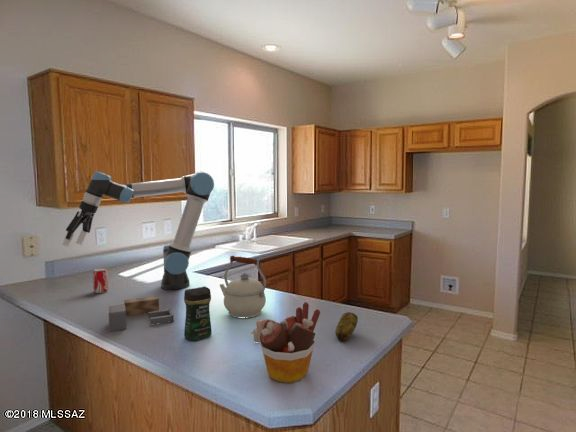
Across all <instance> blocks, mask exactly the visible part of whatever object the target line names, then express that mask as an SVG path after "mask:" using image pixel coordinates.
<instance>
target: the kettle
mask: <svg viewBox="0 0 576 432" xmlns="http://www.w3.org/2000/svg"><path fill="white" fill-rule="evenodd" d="M229 257H230V258H229V263H230V264H229V266H228V267H227V269H226V270H225V271H224V274H223V277H224V282H225V284H224V283H220V284H219V288H220V290H221V292H222V295H223V296H224V298H223V305H224V307H225V309H226V311H228V315H229V314H230V315H232V316H235V317H245V318H244V319H247V318H246V317H252V318H255V317H254V316H256V317H258V316H259V315H261V314H262V310H263V309H264V307H265V306H266V302H267V301H266V299H267V298H266V295H265V290H266V287H267V279H266V277H265V274H264V273H263V271H262V270H261V268H260V259H259V258H251V257H245V256H235V255H230V256H229ZM234 262H236V263H240V264H247V265H255V266H256V269H257V272H258V273H259V274H260V275H261V278H262V280H263V284H262V282H260V281H259V280H257V279H255V278H251V277H250V275H249V274H248V273H246V272H244V273H242V274H241V275H240V276H239V278H235V279H233V280H231V281H230V282H228V276H227V275H228V272H229V270H230V269H231V267H233V263H234ZM225 285H226V286H225ZM230 315H229V316H230ZM257 315H258V316H257ZM232 316H231V317H232ZM235 317H234V318H235Z"/></svg>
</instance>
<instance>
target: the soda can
mask: <svg viewBox="0 0 576 432" xmlns="http://www.w3.org/2000/svg"><path fill="white" fill-rule="evenodd" d="M92 285H93V287H92V288H93V292H94V293H96V294H104V293H107V292H108V290H109V272H108V271H107V268H104V267H99V268H95V269H94V270H93V272H92Z"/></svg>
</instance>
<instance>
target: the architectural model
mask: <svg viewBox="0 0 576 432" xmlns="http://www.w3.org/2000/svg"><path fill="white" fill-rule="evenodd" d="M250 333H251V334H252V335H253V342H254V341H255V342H260V334H259V331H258V329H257V327H256V328H255V329H253V331H251V332H250Z"/></svg>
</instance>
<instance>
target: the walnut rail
mask: <svg viewBox="0 0 576 432" xmlns="http://www.w3.org/2000/svg"><path fill="white" fill-rule="evenodd" d="M123 304H125V310H126V317H130V315H131V316H136V315H137V314H139V315H143V314H144V313H146V314H148V312H153V311H160V298H159V296H158V295H154V296H148V297H141V298H140V297H139V298H132V299H124V301H123ZM144 315H145V314H144Z"/></svg>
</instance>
